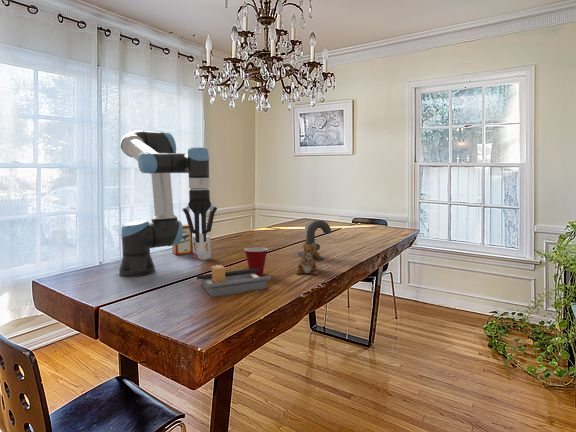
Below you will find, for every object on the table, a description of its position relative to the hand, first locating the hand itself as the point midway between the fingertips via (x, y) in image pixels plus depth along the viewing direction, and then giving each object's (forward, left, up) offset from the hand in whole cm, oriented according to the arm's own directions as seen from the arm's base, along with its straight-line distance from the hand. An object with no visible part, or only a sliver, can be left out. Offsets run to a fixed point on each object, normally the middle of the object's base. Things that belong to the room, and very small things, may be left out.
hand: (201, 250), depth 145 cm
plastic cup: (+28, +13, -16) cm, 35 cm away
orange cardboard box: (+6, +70, -16) cm, 72 cm away
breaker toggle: (+7, 0, -13) cm, 14 cm away
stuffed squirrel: (+51, +6, -16) cm, 54 cm away
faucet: (+69, +29, -16) cm, 76 cm away
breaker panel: (+13, 0, -16) cm, 20 cm away
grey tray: (+13, 0, -13) cm, 18 cm away
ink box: (+13, +54, -16) cm, 58 cm away
